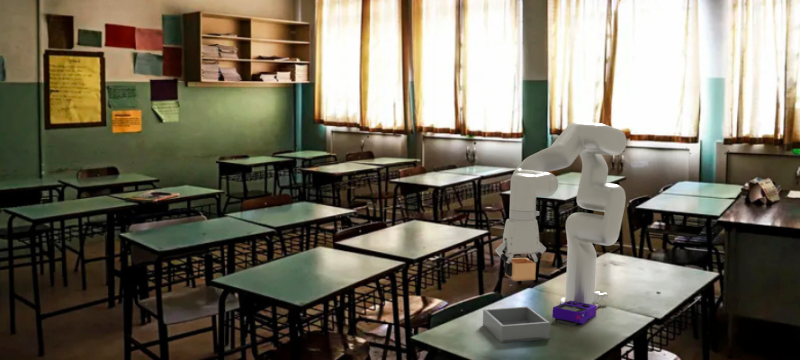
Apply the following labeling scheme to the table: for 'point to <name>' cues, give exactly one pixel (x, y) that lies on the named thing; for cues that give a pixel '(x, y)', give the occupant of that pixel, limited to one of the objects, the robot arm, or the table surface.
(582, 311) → the handheld gaming console
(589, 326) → the table surface
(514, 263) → the orange crate
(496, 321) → the grey square tray
